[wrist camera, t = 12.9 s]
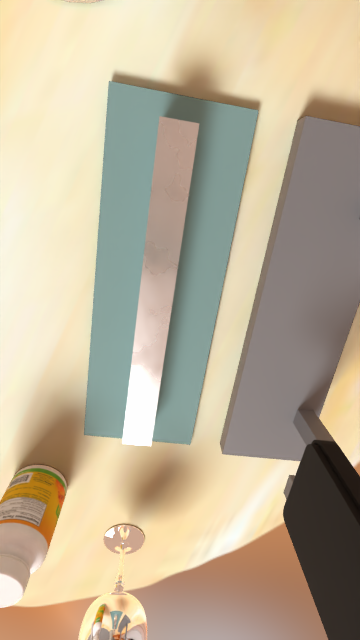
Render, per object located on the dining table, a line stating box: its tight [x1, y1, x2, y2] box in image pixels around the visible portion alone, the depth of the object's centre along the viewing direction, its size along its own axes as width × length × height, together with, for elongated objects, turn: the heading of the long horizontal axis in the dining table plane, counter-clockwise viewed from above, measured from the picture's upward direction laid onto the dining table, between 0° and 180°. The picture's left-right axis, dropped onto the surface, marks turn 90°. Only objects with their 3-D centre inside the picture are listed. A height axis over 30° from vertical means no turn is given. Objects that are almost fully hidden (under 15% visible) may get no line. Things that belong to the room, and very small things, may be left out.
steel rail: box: [122, 116, 199, 446], centre depth 25 cm, size 24×2×3 cm, turn 171°
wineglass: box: [78, 525, 147, 640], centre depth 31 cm, size 6×6×12 cm
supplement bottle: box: [0, 465, 67, 608], centre depth 29 cm, size 5×5×10 cm
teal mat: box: [84, 81, 259, 445], centre depth 27 cm, size 28×10×1 cm, turn 171°
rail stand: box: [220, 116, 360, 499], centre depth 22 cm, size 28×8×14 cm, turn 171°
